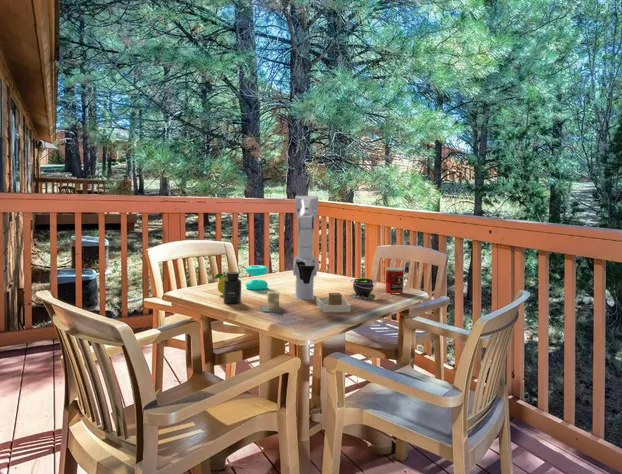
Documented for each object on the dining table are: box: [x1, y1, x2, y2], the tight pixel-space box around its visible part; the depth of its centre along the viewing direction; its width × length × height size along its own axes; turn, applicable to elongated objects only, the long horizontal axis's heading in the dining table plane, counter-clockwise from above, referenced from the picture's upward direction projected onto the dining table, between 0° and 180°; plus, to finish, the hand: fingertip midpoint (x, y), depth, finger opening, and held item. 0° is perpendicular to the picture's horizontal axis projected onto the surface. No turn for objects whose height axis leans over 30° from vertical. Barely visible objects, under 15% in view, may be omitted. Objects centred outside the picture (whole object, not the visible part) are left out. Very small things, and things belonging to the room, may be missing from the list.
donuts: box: [245, 264, 269, 291], centre depth 227 cm, size 10×10×10 cm
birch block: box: [266, 290, 280, 309], centre depth 190 cm, size 4×4×6 cm
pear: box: [214, 271, 227, 296], centre depth 212 cm, size 7×6×10 cm
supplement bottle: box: [223, 271, 242, 305], centre depth 199 cm, size 7×7×12 cm
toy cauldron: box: [350, 271, 377, 300], centre depth 213 cm, size 15×15×11 cm
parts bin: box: [315, 296, 352, 313], centre depth 193 cm, size 14×10×3 cm
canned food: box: [384, 266, 404, 294], centre depth 224 cm, size 8×8×11 cm
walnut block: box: [328, 292, 343, 305], centre depth 189 cm, size 4×4×6 cm
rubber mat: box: [260, 304, 283, 313], centre depth 190 cm, size 9×9×1 cm
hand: (304, 281), depth 194 cm, fingers open, 7 cm apart
